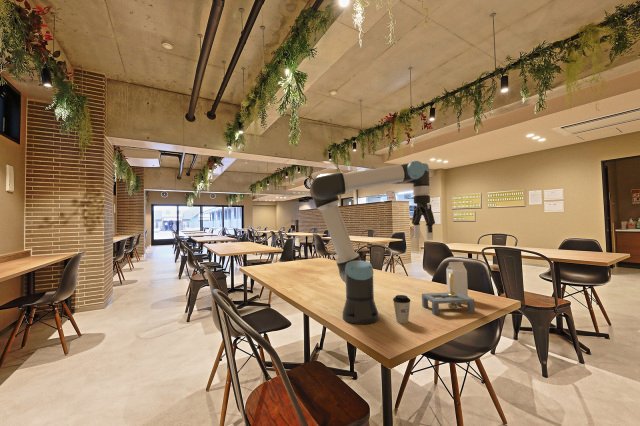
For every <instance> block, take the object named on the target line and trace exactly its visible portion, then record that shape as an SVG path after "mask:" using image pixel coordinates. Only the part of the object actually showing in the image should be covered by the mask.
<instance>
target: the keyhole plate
mask: <svg viewBox="0 0 640 426" xmlns="http://www.w3.org/2000/svg"><path fill="white" fill-rule="evenodd" d="M448 293H450V292H448ZM448 293H447V292H433V293H432V292H431V293H430V292H429V293H428V292H427V293H421V306H422V308H424V309H426V308H429V302H430V303H431V313H432V315H433V316H440V309H439V308H440V305H441V304H442V305H443V304H449V303H455V304H457V307H462V303H466V307H467V312H468V313H469V314H475V313H476V312H475V311H476V310H475V309H476V308H475V299H474V298H472V297H470V296H469V295H468V296H466V295H464V294H462V293H459V292H454V293H456V294H457V297H449V296H448ZM439 304H440V305H439Z"/></svg>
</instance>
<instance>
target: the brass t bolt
mask: <svg viewBox="0 0 640 426" xmlns="http://www.w3.org/2000/svg"><path fill="white" fill-rule="evenodd" d="M449 281H450V293H448V296H449V297H457V294H456V293H454V274H449ZM447 307H448V308H449V309H453V310H454V309H458V306H457V304H455V303H447Z"/></svg>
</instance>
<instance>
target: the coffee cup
mask: <svg viewBox="0 0 640 426" xmlns="http://www.w3.org/2000/svg"><path fill="white" fill-rule="evenodd" d="M392 301H393V305H394V306H393V307H394V313H395V314H394V315H395V319H396V322H397V323H399V324H408V323H409V318H410V306H411V305H410V304H411V302H412V301H411V298H409V297H408V296H407V295H405V294H404V295H403V294H397V295H395V297H393V299H392Z"/></svg>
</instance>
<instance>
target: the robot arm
mask: <svg viewBox="0 0 640 426" xmlns="http://www.w3.org/2000/svg"><path fill="white" fill-rule="evenodd" d="M390 184H391V185H398V184H399V185H402V184H403V185H404V184H409V185H410V184H411V185H412V190H413V191H412V192H413V193H412V195H413V204H415V205H414V206H413V213H412V220H411V224H412V225H413V228H414V229H413V230H414V231H413V232H414V234H413V235H414V236H413V237H414V239H421V223H420V222H421V218H422V216H423V219H424V221H425V223H426V224H425V231H426V234H425V236H426V240H427V241H431V240H434V239H433V238H434V234H433V233H434V232H433V226H434V225H435V224H436V220H435V218H434V214H433V210H432V204H430V203H431V195H430V194H431V193H430V192H431V187H430V168H429V164H428V163H426V162H424V163H423V162H421V161H419V160H414V161H410V162H408V163H403V164H396V165H390V166H384V167H378V168H377V167H376V168H373V169H366V170H360V171H354V172H348V173H345V172H343V171H339V172H330V173H322V174H319V175H316V177H314V179H313V180H312V182H311V184H310V188H309V193H310V197H311V198H312V200H313V201H314V205H315V208H316V209H317V210H319V211H320V212H321V214H322V218H323V220H324V223H325V226H326V229H327V231H328V234H329V237H330V240H331V242H332V245H333V248H334V250H335V254H336V257H337V259H336V261H335V263H336V265H337V268H338V272H339V277H340V279H341V280H342V281H343V282H344V283H345V294H346V295H345V297H346V299H345V303H344V306H343V309H342V319H343V320H344V322H347V323H351V324H354V325H355V324H356V325H370V324H373V323H376V322H377V321H378V320H379V317H380V316H379V311H378V308H377V305H376V302H375V297H374V295H375V293H374V268H373V265H372V263H371V262H369V261H365V260H362V259H361V256H360V254H359V253H358V252H356V251H355V249H354V246H353V243H352V240H351V237H350V235H349V233H348V232H349V231H348V229H347V227H346V224H345V221H344V218H343V216H342V213H341V211H340V207H339V203H340V198H339V196H341V195H345V194H347V192H350V191H357V190H361V189H368V188H374V187H379V186H384V185H385V186H386V185H390Z"/></svg>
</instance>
